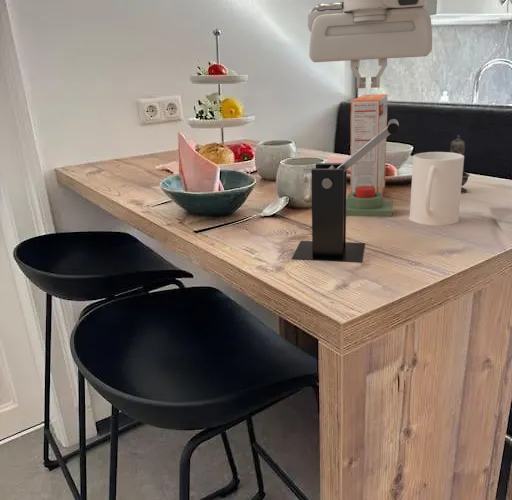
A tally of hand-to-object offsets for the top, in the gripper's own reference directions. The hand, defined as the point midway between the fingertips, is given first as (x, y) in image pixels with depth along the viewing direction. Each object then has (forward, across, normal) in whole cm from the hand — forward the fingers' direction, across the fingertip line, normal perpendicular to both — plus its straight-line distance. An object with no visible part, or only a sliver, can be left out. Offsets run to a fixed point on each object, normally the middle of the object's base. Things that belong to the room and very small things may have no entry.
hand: (368, 87), depth 87 cm
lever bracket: (+23, -4, -23) cm, 33 cm away
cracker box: (+23, 0, +13) cm, 27 cm away
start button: (+19, 0, 0) cm, 19 cm away
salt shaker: (+23, +18, +21) cm, 36 cm away
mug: (+23, +11, -6) cm, 27 cm away
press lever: (+9, +1, -23) cm, 25 cm away
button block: (+23, 0, 0) cm, 23 cm away
